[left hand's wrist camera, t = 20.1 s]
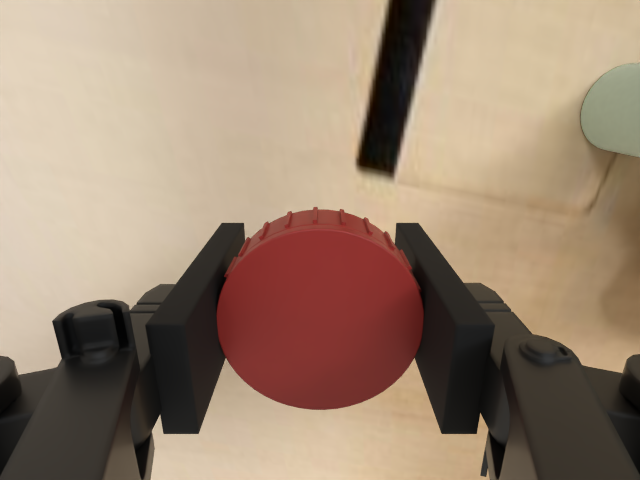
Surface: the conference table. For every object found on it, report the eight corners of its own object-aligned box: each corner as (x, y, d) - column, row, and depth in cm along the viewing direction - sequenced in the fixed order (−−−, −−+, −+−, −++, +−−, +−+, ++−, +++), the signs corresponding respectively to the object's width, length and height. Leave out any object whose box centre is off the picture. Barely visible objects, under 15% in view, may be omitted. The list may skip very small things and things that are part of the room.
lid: (451, 275, 12) (471, 304, 10) (341, 399, 13) (343, 441, 12) (294, 167, 11) (289, 180, 9) (193, 316, 12) (174, 349, 11)
